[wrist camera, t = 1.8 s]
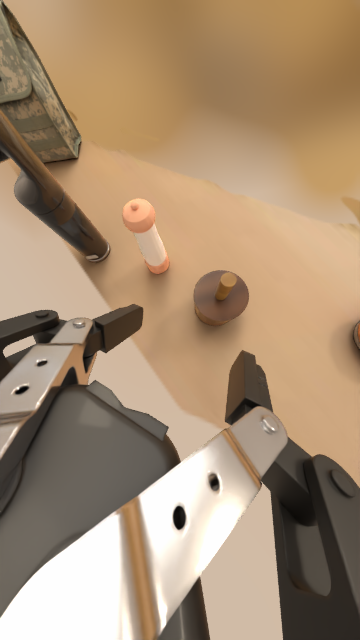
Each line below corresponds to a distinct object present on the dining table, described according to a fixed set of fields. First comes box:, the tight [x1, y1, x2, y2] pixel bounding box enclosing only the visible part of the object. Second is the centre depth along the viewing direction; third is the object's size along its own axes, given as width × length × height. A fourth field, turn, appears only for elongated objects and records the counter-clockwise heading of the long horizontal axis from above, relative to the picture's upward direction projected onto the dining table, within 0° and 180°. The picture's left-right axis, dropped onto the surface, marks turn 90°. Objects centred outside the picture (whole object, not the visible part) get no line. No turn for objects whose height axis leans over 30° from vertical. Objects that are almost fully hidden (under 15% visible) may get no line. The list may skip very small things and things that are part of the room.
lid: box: [194, 270, 249, 321], centre depth 28 cm, size 12×12×8 cm
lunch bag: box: [0, 0, 81, 163], centre depth 47 cm, size 22×16×27 cm
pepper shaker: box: [122, 199, 169, 274], centre depth 35 cm, size 7×7×19 cm
